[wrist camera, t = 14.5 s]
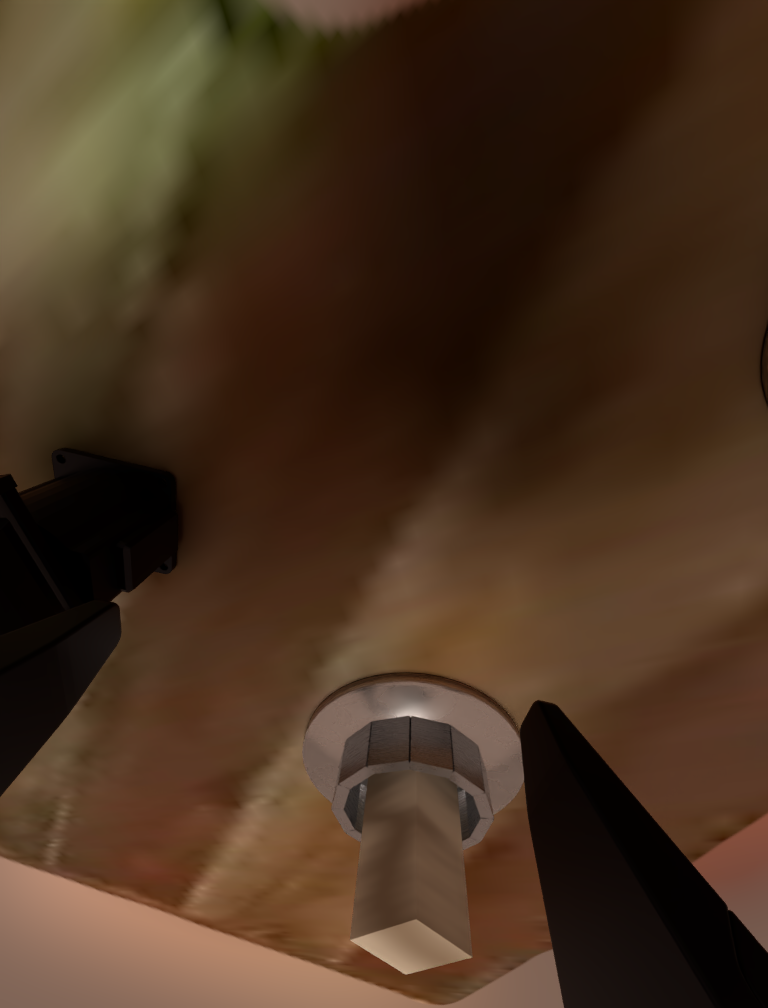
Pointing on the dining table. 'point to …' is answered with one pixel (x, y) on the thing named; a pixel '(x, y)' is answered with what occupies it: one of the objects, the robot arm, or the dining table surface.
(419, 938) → the wedge pin
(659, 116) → the dining table surface
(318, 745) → the steel rosette
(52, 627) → the robot arm
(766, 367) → the jar
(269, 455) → the dining table surface
